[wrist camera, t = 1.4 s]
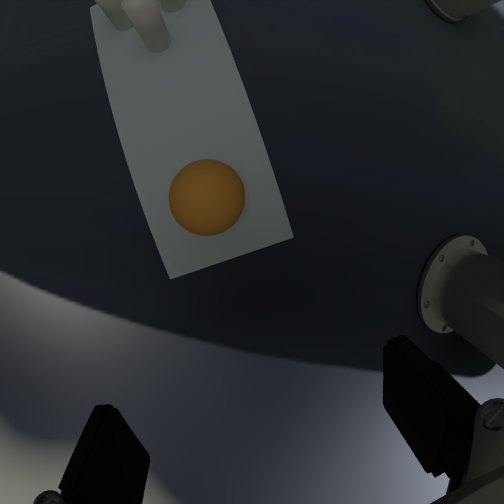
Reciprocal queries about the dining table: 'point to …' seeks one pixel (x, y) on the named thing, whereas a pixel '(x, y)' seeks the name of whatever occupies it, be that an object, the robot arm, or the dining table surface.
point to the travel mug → (458, 8)
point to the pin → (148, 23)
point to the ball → (206, 197)
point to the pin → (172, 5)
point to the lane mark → (188, 131)
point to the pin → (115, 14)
